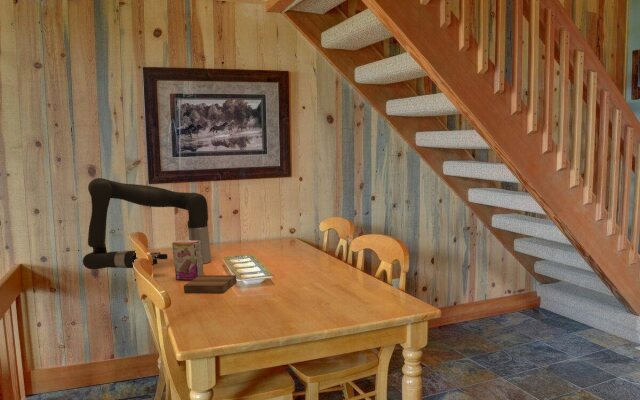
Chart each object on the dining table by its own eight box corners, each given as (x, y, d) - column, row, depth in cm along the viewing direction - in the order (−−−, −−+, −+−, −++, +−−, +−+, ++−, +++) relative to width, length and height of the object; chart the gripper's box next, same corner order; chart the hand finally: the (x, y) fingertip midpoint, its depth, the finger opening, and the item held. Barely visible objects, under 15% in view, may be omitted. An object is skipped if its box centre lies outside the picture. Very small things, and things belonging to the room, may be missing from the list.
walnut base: (200, 282, 220) (199, 275, 219) (236, 282, 216) (235, 275, 216) (184, 293, 206) (183, 285, 206) (222, 293, 202) (222, 285, 202)
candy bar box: (175, 280, 226) (171, 242, 223) (182, 277, 230) (178, 239, 228) (198, 281, 222) (194, 242, 220) (204, 277, 227) (200, 240, 224)
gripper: (117, 254, 224) (152, 254, 220) (136, 247, 238) (169, 246, 234) (119, 272, 225) (154, 272, 221) (138, 263, 239) (171, 263, 235)
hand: (162, 259), depth 228 cm, fingers open, 8 cm apart
